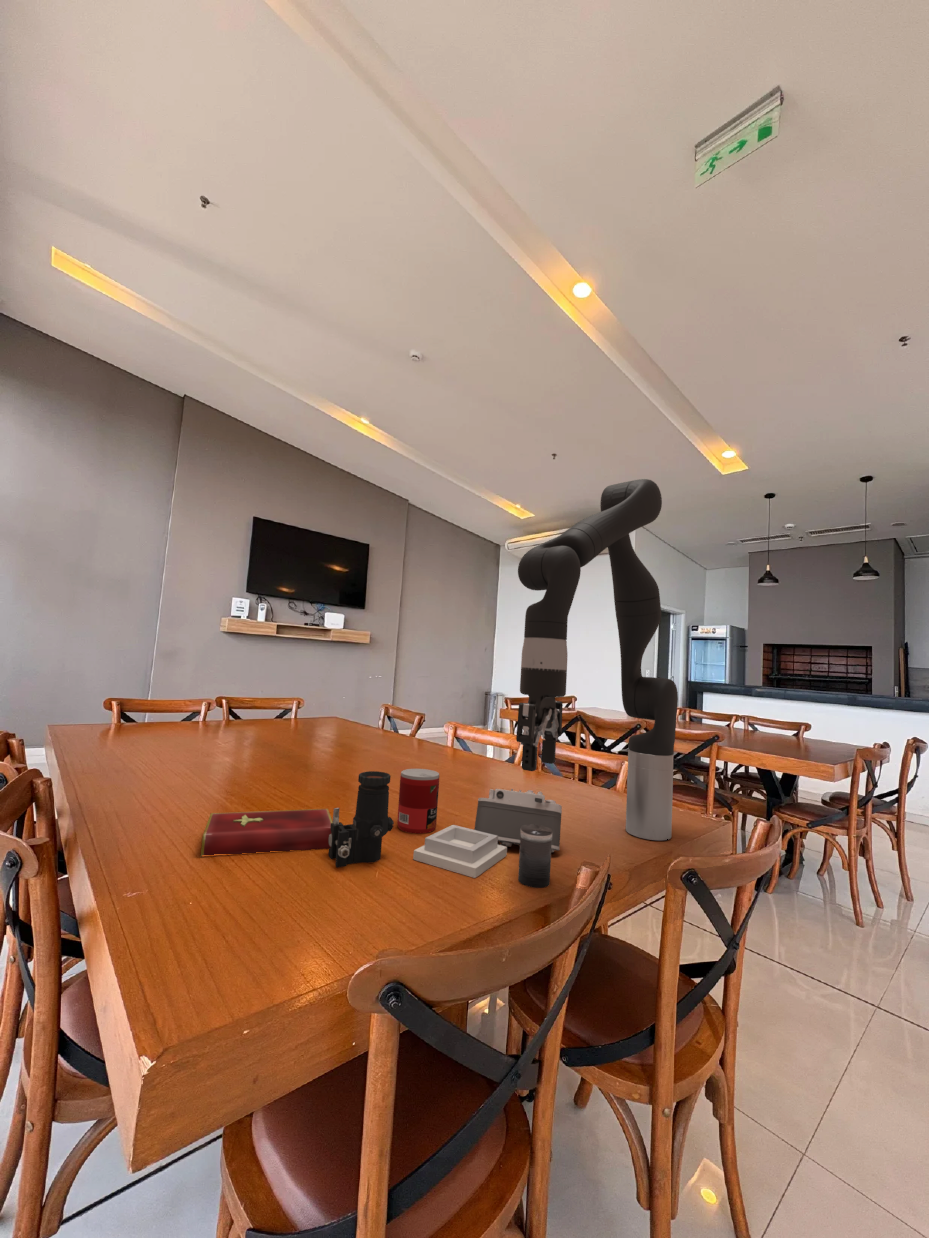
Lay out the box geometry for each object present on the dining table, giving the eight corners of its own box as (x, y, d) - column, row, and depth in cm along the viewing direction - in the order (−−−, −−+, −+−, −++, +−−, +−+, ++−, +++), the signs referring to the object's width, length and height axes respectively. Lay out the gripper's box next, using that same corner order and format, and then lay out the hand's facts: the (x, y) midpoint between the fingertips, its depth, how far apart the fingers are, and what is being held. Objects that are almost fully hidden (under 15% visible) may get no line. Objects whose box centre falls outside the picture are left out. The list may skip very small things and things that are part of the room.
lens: (525, 871, 85) (527, 822, 85) (554, 879, 82) (556, 828, 83) (512, 882, 80) (515, 829, 81) (543, 891, 78) (545, 837, 78)
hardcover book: (333, 851, 89) (335, 826, 90) (200, 860, 82) (202, 833, 82) (326, 829, 101) (328, 807, 101) (208, 835, 93) (210, 811, 94)
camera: (560, 852, 91) (563, 792, 96) (472, 838, 93) (479, 780, 98) (555, 856, 99) (559, 801, 104) (474, 843, 101) (481, 790, 106)
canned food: (434, 835, 99) (438, 778, 100) (394, 832, 99) (398, 775, 100) (437, 823, 107) (440, 769, 108) (399, 820, 107) (403, 767, 108)
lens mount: (449, 840, 97) (450, 821, 97) (506, 855, 91) (507, 835, 91) (413, 859, 87) (414, 838, 87) (475, 878, 81) (476, 855, 81)
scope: (333, 770, 88) (388, 768, 93) (326, 853, 87) (382, 846, 92) (345, 782, 81) (404, 778, 86) (338, 872, 80) (398, 863, 85)
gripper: (550, 667, 76) (545, 777, 75) (578, 668, 88) (574, 763, 87) (505, 664, 80) (499, 769, 78) (538, 666, 92) (533, 757, 91)
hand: (538, 766), depth 83 cm, fingers open, 8 cm apart
